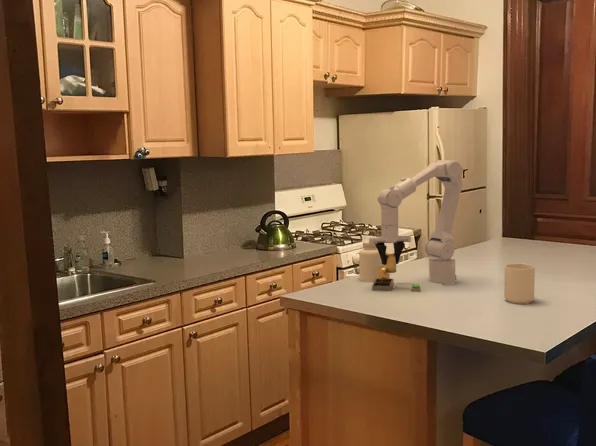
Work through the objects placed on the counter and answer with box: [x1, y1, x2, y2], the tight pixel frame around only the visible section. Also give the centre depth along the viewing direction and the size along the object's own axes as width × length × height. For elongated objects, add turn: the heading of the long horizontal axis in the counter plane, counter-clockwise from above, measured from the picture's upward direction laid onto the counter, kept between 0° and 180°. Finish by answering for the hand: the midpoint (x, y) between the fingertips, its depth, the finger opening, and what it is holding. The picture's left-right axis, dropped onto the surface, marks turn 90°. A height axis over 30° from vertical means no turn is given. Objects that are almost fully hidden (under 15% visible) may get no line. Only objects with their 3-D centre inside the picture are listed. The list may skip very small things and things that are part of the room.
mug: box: [503, 263, 536, 305], centre depth 201 cm, size 12×9×11 cm
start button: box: [411, 283, 421, 288], centre depth 214 cm, size 2×2×3 cm
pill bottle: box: [358, 240, 382, 283], centre depth 233 cm, size 8×8×15 cm
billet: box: [383, 253, 397, 274], centre depth 218 cm, size 4×4×6 cm
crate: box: [371, 278, 395, 292], centre depth 222 cm, size 7×12×2 cm, turn 167°
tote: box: [393, 282, 420, 290], centre depth 221 cm, size 8×8×1 cm
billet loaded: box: [378, 266, 391, 282], centre depth 224 cm, size 4×4×6 cm
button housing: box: [410, 286, 422, 293], centre depth 214 cm, size 3×3×2 cm
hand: (390, 263), depth 218 cm, fingers closed on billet, 4 cm apart
